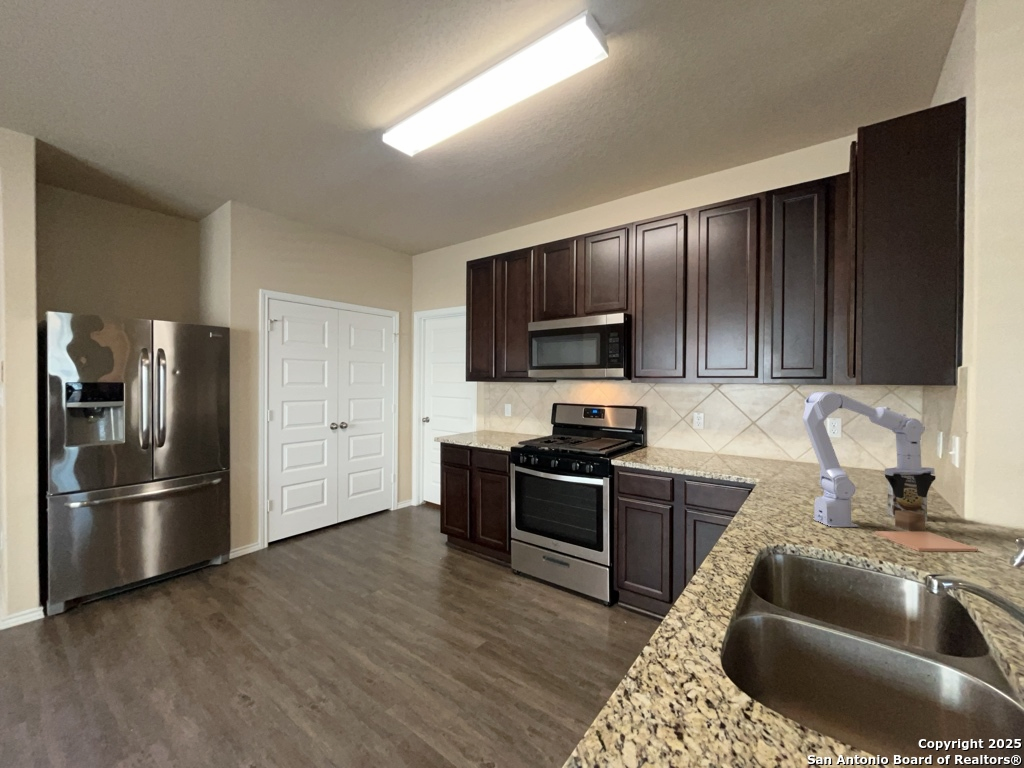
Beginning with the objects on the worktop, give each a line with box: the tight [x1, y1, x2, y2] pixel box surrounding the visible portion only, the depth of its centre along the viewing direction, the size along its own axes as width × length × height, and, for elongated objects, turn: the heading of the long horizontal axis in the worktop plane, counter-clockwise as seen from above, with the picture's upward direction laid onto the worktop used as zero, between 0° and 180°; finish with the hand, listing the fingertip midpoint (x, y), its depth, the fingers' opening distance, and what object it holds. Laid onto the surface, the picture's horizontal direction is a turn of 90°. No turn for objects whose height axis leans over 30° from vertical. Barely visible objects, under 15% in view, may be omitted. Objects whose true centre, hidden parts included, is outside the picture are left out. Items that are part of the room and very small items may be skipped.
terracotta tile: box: [874, 530, 979, 553], centre depth 121 cm, size 16×14×1 cm
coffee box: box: [886, 472, 928, 522], centre depth 146 cm, size 9×6×16 cm
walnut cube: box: [894, 511, 926, 532], centre depth 134 cm, size 5×5×5 cm
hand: (910, 497), depth 134 cm, fingers open, 7 cm apart
